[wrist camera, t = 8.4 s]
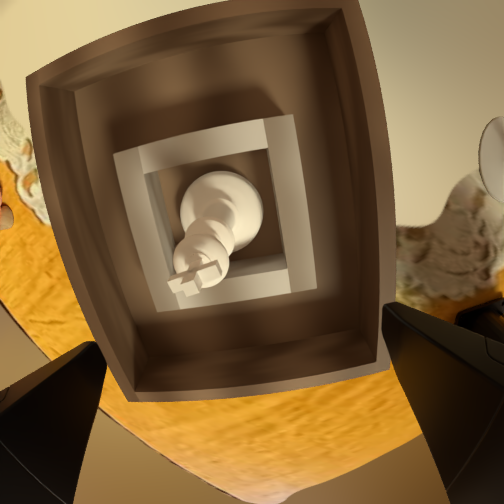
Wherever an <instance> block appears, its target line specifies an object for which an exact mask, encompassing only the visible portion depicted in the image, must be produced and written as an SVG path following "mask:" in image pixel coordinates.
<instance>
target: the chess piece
mask: <svg viewBox="0 0 504 504" xmlns="http://www.w3.org/2000/svg"><path fill="white" fill-rule="evenodd" d="M180 219H181V223H182V227H183V229H184V231H185V238H184V239H183V240H182V241H181V242H180V243H179V244H178V245H177V247H176V248H175V251H174V254H173V265H174V269H175V271H176V273H177V274H175V275H172V276H170V278H169V279H168V281H167V283H168V285H169V286H170V288H171V290H172V292H173V293H176V292H179V291H182V290H183V291H184V293H185V295H186V297H188V296H191V295H194V294H197V293H200V290H201V288H208V287H211V286H214V285H216V284H218V283H219V282H220V281H221V280H222V279H223V278H224V277H225V276H226V274H227V272H228V268H229V256H230V254H231V253H232V252H235V251H238V250H240V249H242V248H244V247H245V246H247V245H248V244H249V243H250V242H251V241H252V240H253V239H254V238H255V236H256V235H257V233H258V231H259V229H260V227H261V224H262V220H263V204H262V200H261V197H260V195H259V193H258V191H257V189H256V188H255V187H254V186H253V184H252V183H251V182H250V181H248V180H247V179H246V178H244V177H242V176H241V175H238V174H236V173H233V172H229V171H215V172H210V173H207V174H205V175H203V176H201V177H199V178H198V179H196V180H195V181H194V182H193V183H192V184H191V185H190V186H189V187H188V189H187V190H186V192H185V194H184V196H183V199H182V202H181V207H180Z"/></svg>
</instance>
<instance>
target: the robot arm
mask: <svg viewBox="0 0 504 504" xmlns="http://www.w3.org/2000/svg"><path fill="white" fill-rule="evenodd" d="M461 317H462V318H461ZM381 331H382V335H383V338H384V341H385V344H386V347H387V349H388V352H389V355H390V358H391V361H392V364H393V367H394V370H395V373H396V375H397V377H398V380H399V382H400V384H401V386H402V388H403V390H404V392H405V395H406V397H407V399H408V401H409V403H410V405H411V408H412V410H413V412H414V414H415V416H416V419H417V421H418V423H419V425H420V428H421V430H422V432H423V435H424V437H425V439H426V442H427V444H428V446H429V449H430V451H431V454H432V456H433V459H434V461H435V464H436V466H437V468H438V471H439V474H440V476H441V479H442V481H443V484H444V487H445V490H446V491H447V492H446V493H447V496H448V498H449V501H450V504H504V297H501V298H498V299H496V300H493V301H490V302H488V303H485V304H482V305H479V306H476V307H473V308H470V309H467V310H464V311H461V312H460V313H458V315H457V317H456V321H455V325H454V324H452V323H449V322H447V321H444V320H442V319H439V318H437V317H434V316H431V315H429V314H426V313H424V312H421V311H419V310H416V309H414V308H411V307H409V306H406V305H404V304H401V303H399V302H390V303H386V304H384V305H383V307H382V322H381ZM106 370H107V362H106V359H105V357H104V355H103V353H102V351H101V349H100V347H99V345H98V344H97V343H96V342H95V341H86V342H84V343H82V344H80V345H78V346H77V347H75V348H73V349H72V350H70V351H68V352H66V353H65V354H63V355H61V356H60V357H58V358H56V359H55V360H53V361H51V362H49V363H48V364H46V365H44V366H43V367H41V368H39V369H38V370H36V371H35V372H32V373H31V374H29V375H27V376H26V377H24V378H22V379H21V380H19V381H17V382H16V383H14V384H12V385H10V387H7V388H5V389H4V390H2V391H0V504H73V501H74V496H75V492H76V487H77V483H78V479H79V474H80V470H81V466H82V462H83V458H84V454H85V451H86V447H87V443H88V440H89V436H90V433H91V429H92V425H93V423H94V419H95V416H96V413H97V409H98V406H99V402H100V397H101V393H102V388H103V383H104V379H105V374H106Z"/></svg>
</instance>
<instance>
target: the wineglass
mask: <svg viewBox="0 0 504 504" xmlns="http://www.w3.org/2000/svg"><path fill="white" fill-rule="evenodd" d="M479 168H480V174H481V177H482V181H483V184H484V186H485V187H486V189H487V191H488V193H489V194H490V195H491V196H492V197H493V198H494V199H496V200H497V201H499V202H503V203H504V117H497V118H494V119H492V120H491V121H490V122H489V123H488V124H487V125H486V127H485V129H484V131H483V133H482V137H481V139H480V145H479Z"/></svg>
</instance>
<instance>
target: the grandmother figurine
mask: <svg viewBox="0 0 504 504" xmlns="http://www.w3.org/2000/svg"><path fill="white" fill-rule="evenodd" d="M1 202H2V190H1V187H0V206H1ZM12 225H13V215H12V212H11V210H10V208H9V207H8V206H2V207H1V208H0V230H3V229H9V228H11V227H12Z"/></svg>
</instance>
